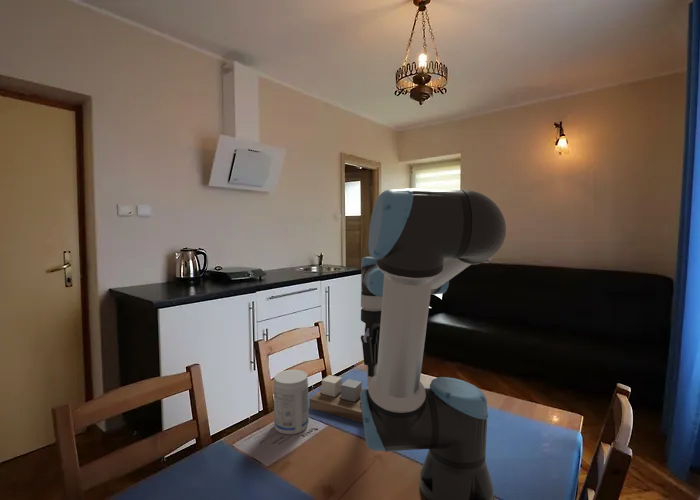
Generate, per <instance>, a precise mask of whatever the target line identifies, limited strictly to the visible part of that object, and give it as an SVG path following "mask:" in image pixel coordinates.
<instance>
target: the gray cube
mask: <svg viewBox="0 0 700 500" xmlns="http://www.w3.org/2000/svg"><path fill="white" fill-rule="evenodd" d="M362 385H363V383H362V381H359V380H354V379H350V378H347V379H346V380H345V381H344V382H342V385H341V399H345V400H347V401H348V402H352V403H357V402H356V401H357V400H358V399H359V398H360V392H361V391H362V389H363V388H362Z"/></svg>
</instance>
